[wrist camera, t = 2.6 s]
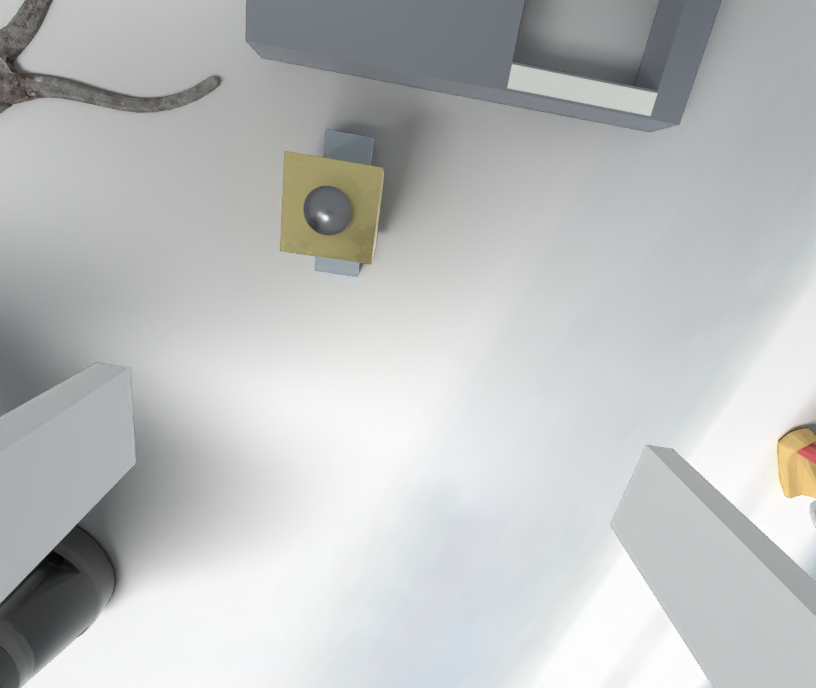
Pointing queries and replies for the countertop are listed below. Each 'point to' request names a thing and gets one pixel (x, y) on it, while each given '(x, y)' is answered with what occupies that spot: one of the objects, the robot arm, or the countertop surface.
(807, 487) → the toy
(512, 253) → the countertop surface
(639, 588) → the countertop surface
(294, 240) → the block
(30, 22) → the pliers
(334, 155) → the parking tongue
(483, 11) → the rail board
